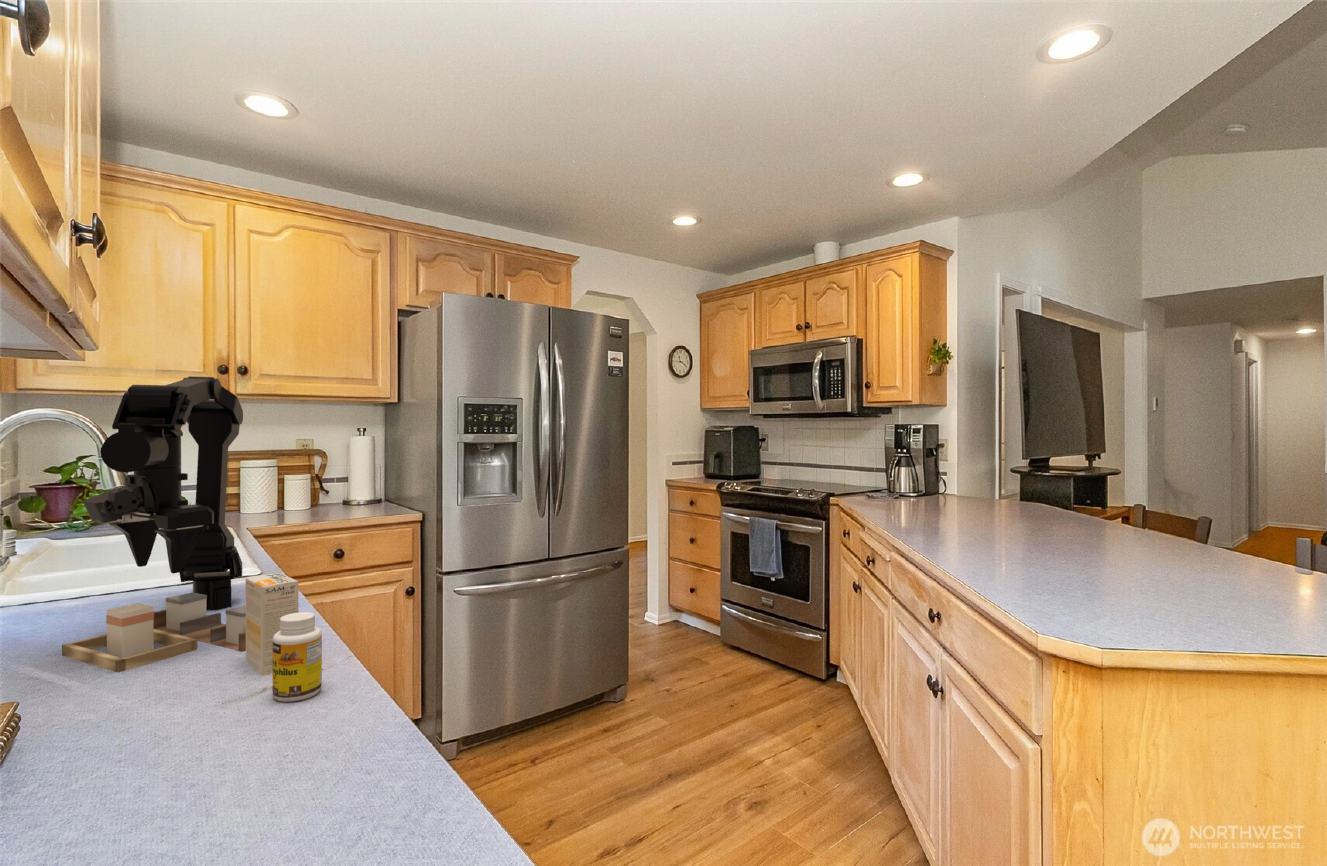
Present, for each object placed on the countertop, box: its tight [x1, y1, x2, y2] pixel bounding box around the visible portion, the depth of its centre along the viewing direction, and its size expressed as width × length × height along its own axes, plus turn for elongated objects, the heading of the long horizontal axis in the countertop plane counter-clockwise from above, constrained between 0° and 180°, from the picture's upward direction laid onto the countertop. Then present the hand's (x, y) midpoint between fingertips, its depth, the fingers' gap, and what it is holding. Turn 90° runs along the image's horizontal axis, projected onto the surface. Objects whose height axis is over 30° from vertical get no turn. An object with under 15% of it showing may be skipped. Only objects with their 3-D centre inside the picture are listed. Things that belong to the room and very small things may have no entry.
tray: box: [61, 629, 198, 673], centre depth 96 cm, size 15×10×2 cm, turn 65°
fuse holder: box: [153, 608, 246, 653], centre depth 105 cm, size 25×7×4 cm, turn 65°
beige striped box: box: [105, 602, 155, 658], centre depth 96 cm, size 4×4×7 cm
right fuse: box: [225, 604, 246, 645], centre depth 101 cm, size 4×4×5 cm
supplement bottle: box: [271, 611, 323, 703], centre depth 84 cm, size 6×6×10 cm
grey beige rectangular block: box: [165, 591, 207, 631], centre depth 108 cm, size 4×4×5 cm
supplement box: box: [245, 572, 299, 676], centre depth 92 cm, size 8×5×13 cm, turn 47°
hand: (158, 569), depth 98 cm, fingers open, 9 cm apart
